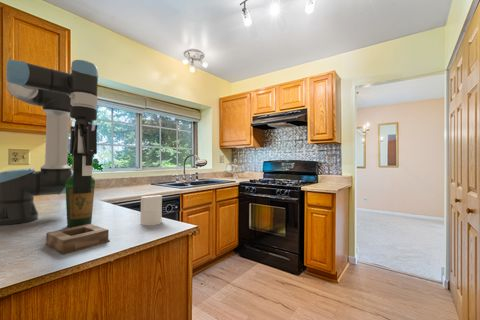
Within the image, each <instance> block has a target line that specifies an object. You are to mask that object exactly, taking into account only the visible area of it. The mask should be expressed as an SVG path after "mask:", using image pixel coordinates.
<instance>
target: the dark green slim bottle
mask: <svg viewBox="0 0 480 320" xmlns="http://www.w3.org/2000/svg"><path fill="white" fill-rule="evenodd" d="M83 153H84V149H83V141H82V137H81V136H80V131H79V129H78V153H75V155H74V157H73V156H72V171H73V193H74V194H77V193H91V178H92V177H93V175H92V176H82V157H83V156H82V154H83Z"/></svg>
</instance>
